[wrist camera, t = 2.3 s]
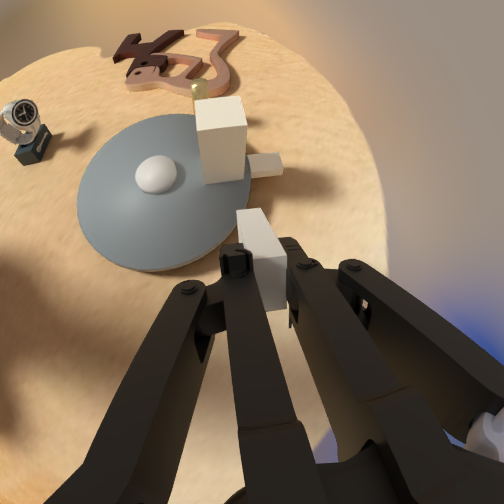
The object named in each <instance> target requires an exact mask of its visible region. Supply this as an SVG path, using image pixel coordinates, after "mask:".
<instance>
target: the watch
mask: <svg viewBox="0 0 504 504" xmlns="http://www.w3.org/2000/svg"><path fill="white" fill-rule="evenodd" d="M3 115H5V116H4V117H5V118H6V119H7V120H9V122H10V123H11V125H10V124H7V123H6V122H5V120H4V117H3ZM40 124H41V123H40V115H39V113H38V109H37V106H36V104H35V103H34V102H33V100H29V99H21V100H15V101H14V102H10V103H8V104H7V105H5V107H4V108H3V110H2V111H1V113H0V134H1V136H2V137H4V138H5V139H6V140H8V141H10V142H11V143H13V144H19V146H18V148H17V151H16V153H15V155H14V156H15V157H16V158H17V159H18V160H19V162H20V163H21V164H22V165H23V166H25V165H29V164H33V163H38V162H40V161H41V159H42V157H43V154H44V152H45V150H46V148H47V145H48V143H49V141H50V139H51V137H52V134H51V133H50V131H49V130H48V128H47V127H46V125H45V124H42V125H40ZM19 130H25V131H26V133H25V134H23V133H21V131H19Z"/></svg>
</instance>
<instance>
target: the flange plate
mask: <svg viewBox="0 0 504 504" xmlns="http://www.w3.org/2000/svg"><path fill="white" fill-rule="evenodd" d="M194 104H195V115H189V114H168V115H161V116H156V117H152V118H148V119H145V120H143V121H140V122H138V123H135V124H133V125H131V126H129V127H127V128H126V129H124V130H122V131H121V132H119V133H118V134H116V135H115V136H114V137H112V138H111V139H110V140H109V141H108V142H107V143H106V144H105V145H104V146H103V147H102V148H101V149H100V150H99V151H98V152H97V153H96V155H95V156H94V157H93V159H92V160H91V162H90V163H89V165H88V167H87V168H86V171H85V173H84V175H83V177H82V180H81V183H80V186H79V191H78V196H77V215H78V219H79V224H80V227H81V229H82V232H83V234H84V236H85V237H86V239H87V240H88V242H89V243H90V244H91V246H92V247H93V248H94V249H95V250H96V251H97V252H99V253H100V254H101V255H102V256H103V257H105V258H106V259H108V260H109V261H111V262H113V263H114V264H116V265H118V266H121V267H124V268H127V269H130V270H135V271H142V272H158V271H166V270H171V269H175V268H179V267H182V266H185V265H187V264H190V263H192V262H194V261H196V260H198V259H200V258H202V257H204V256H205V255H207V254H208V253H210V252H211V251H213V250H214V249H215V248H216V247H217V246H219V245H220V244H221V243H222V242H223V241H224V240H225V239H226V238H227V237H228V236H229V235H230V234H231V232H232V231H233V230H234V228H235V227H236V226H237V213H236V210H243V209H246V206H247V203H248V199H249V194H250V187H251V178H259V177H268V176H278V175H282V174H283V170H284V168H283V164H282V161H281V158H280V155H279V152H272V153H261V154H250V155H247V154H246V139H247V121H246V117H245V114H244V110H243V106H242V102H241V99H240V96H229V97H219V98H210V99H202V100H195V101H194Z"/></svg>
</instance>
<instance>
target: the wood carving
mask: <svg viewBox="0 0 504 504" xmlns="http://www.w3.org/2000/svg"><path fill="white" fill-rule="evenodd" d="M182 36H184V30H169V31H167V32H166V33H164V34H163V35H162V36H160V37H159V38H157V39H156V40H155V41H153V42H150V43H143V44H138V43H139V42H140V41H141V40H142V39H141V34H140V33H138V34H130V35H128V36H127V37H126V38H125V40H124V41H123V42H122V44H121V45H120V47H119V48H118V50H117V51H116V53H115V55H114V57H113V61H114V64H115V63H116V62H118V61H119V60H121V59H126V58H135V59H134V61H133V62H132V64H131V66H130V68H129V70H128V72H127V74H126V77H127V79H126V82H125V84H126V87H127V90H128V91H129V92H139V91H146V90H152V89H164V90H168V91H170V92H171V93H174V94H177V95H181V96H186V97H191V98H192V93H191V85H190V83H191V81H193V80H190V79H191V78H192V77H193V76H194V75H195V74H196V73H197V72H198V71H199V70H200V69H201V67H202V66H203V63H202V58H199V57H194V56H187V55H180V54H172V53H159V52H160V51H161V50H163V49H164V48H165V47H167V46H168V45H170V44H171V43H172V42H174V41H175V40H177V39H178V38H180V37H182ZM196 36H197V37H198V38H203V39H208V40H214V41H219V42H218V43H217V45H216V46H215V47H214V48H213V50H212V51H211V52H210V62H211V64H212V65H213V66H214V68H215V69H216V71H217V77H216V78H214V79H212V80H207V83H208V98H212V97H217V96H220V95H222V94H224V93H225V92H226V91H227V90H228V89H229V87H230V71H229V68H228V66H227V64H226V63H225V62H224V60H223V59H222V58H220V57H219V56H220V55H221V53H222V52H223V51H224V50H225V49H226V48H227V47H228V46H229V45H230V44H232V43H233V42H234V41H235V40H236V39H237V38H238V37H239V31H236V30H215V29H197V30H196ZM171 64H185V65H190V66H189V67H188V68H187V69H186V70H185V71H184V72H183V73H181V74H180V75H178V76H176V77H161V73H162V72H163V71H165V70H166V68H167V65H171Z"/></svg>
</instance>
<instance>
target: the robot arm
mask: <svg viewBox="0 0 504 504" xmlns="http://www.w3.org/2000/svg"><path fill="white" fill-rule="evenodd" d="M236 213H237V225H238V236H239V243H236V244H227V245H223V247H222V248H221V249H220V253H221V254H220V257H219V260H220V267H221V275H222V277H221V278H220V279H219V280H218V281H217V282H216V283H214V284H211V285H209V286H205V284H204V283H203V282H201V281H199V280H186V281H183V282H181V283H179V284H177V285H176V286H175V287H174V288H173V290H172V292H171V293H170V295H169V297H168V298H167V300H166V302H165V304H164V305H163V307H162V309H161V311H160V312H159V314H158V316H157V318H156V319H155V321H154V323H153V325H152V326H151V328H150V330H149V332H148V334H147V335H146V337H145V339H144V341H143V343H142V345H141V346H140V348H139V350H138V352H137V354H136V356H135V357H134V359H133V361H132V363H131V365H130V367H129V369H128V371H127V373H126V375H125V376H124V378H123V380H122V382H121V384H120V386H119V388H118V390H117V392H116V394H115V396H114V398H113V400H112V402H111V404H110V406H109V408H108V410H107V412H106V414H105V416H104V419H103V421H102V423H101V425H100V427H99V429H98V431H97V433H96V435H95V438H94V440H93V442H92V444H91V446H90V449H89V451H88V453H87V455H86V458H85V460H84V462H83V464H82V465H81V466H80V467H79V468H78V469H77V470H76V471H75V472H74V473H73V474H72V475H71V476H70V477H69V478H68V479H67V480H66V481H65V482H64V483H63V484H62V485H61V486H60V487H59V488H58V489H57V490H56V491H55V492H54V493H53V494H52V495H51V496H50V497H49V498H48V499H47V500H46V501H45V502H44V503H43V504H167V503H168V500H169V497H170V494H171V492H172V488H173V484H174V481H175V477H176V473H177V470H178V466H179V462H180V459H181V455H182V452H183V448H184V444H185V441H186V437H187V434H188V430H189V427H190V423H191V419H192V416H193V412H194V409H195V405H196V402H197V398H198V395H199V391H200V388H201V384H202V381H203V378H204V374H205V371H206V367H207V364H208V360H209V357H210V353H211V350H212V347H213V343H214V340H215V334H217V333H219V332H222V331H225V330H227V340H228V349H229V358H230V367H231V376H232V385H233V393H234V401H235V409H236V417H237V424H238V440H239V448H240V455H241V461H242V468H243V475H244V481H245V487H243V488H242V489H240V490H238V491H237V492H236V493H235V494H233V495H232V496H231V497H230V498H229V499H228V500H227V501H226V502H225V503H224V504H504V366H503V365H502V364H501V363H499V362H498V361H497V360H496V359H495V358H493V357H492V356H491V355H490V354H489V353H487V352H486V351H485V350H484V349H482V348H481V347H480V346H479V345H478V344H476V343H475V342H474V341H473V340H471V339H470V338H469V337H467V336H466V335H465V334H464V333H462V332H461V331H460V330H459V329H457V328H456V327H455V326H453V325H452V324H451V323H449V322H448V321H447V320H445V319H444V318H443V317H441V316H440V315H439V314H437V313H436V312H435V311H433V310H432V309H430V308H429V307H428V306H426V305H425V304H424V303H422V302H421V301H420V300H418V299H417V298H415V297H414V296H413V295H411V294H410V293H408V292H407V291H405V290H404V289H403V288H401V287H400V286H398V285H397V284H396V283H394V282H393V281H391V280H390V279H388V278H387V277H385V276H384V275H382V274H381V273H379V272H378V271H376V270H375V269H374V268H372V267H371V266H369V265H368V264H366V263H364V262H362V261H360V260H356V259H348V260H344V261H342V262H340V264H339V269H324V268H323V267H322V265H321V264H320V263H319V262H318V261H317V260H315V259H312V258H308V256H307V255H306V253H305V252H304V251H303V249H302V248H301V246H300V245H299V243H298V242H297V240H295V239H293V238H291V237H284V238H277V236H276V235H275V233H274V231H273V229H272V227H271V226H270V224H269V222H268V220H267V219H266V217H265V215H264V213H263V212H262V210H261V208H253V209H243V210H236ZM363 299H364V300H365V301H367V302H368V306H367V309H366V308H364V307H363V306H362V303H363ZM287 301H288V303H289V328H291V325H292V324H293V326H294V329H295V331H296V334H297V337H298V339H299V342H300V344H301V347H302V350H303V352H304V355H305V358H306V360H307V363H308V366H309V368H310V371H311V373H312V376H313V379H314V381H315V384H316V387H317V389H318V392H319V395H320V397H321V400H322V403H323V405H324V408H325V411H326V414H327V416H328V419H329V422H330V424H331V427H332V430H333V433H334V435H335V438H336V441H337V446H338V460H339V462H338V463H324V464H316V463H315V460H314V457H313V453H312V450H311V447H310V443H309V440H308V437H307V434H306V431H305V428H304V426H303V424H302V422H301V421H299V420H298V419H297V417H296V415H295V411H294V408H293V405H292V401H291V398H290V394H289V391H288V388H287V384H286V381H285V377H284V374H283V371H282V367H281V364H280V360H279V357H278V353H277V350H276V347H275V343H274V340H273V336H272V333H271V329H270V326H269V322H268V319H267V316H266V312H268V311H275V310H281V309H287ZM443 429H444V430H445V431H446V432H447V433H449V434H450V435H452V436H453V437H454V438H456V439H457V440H459V441H461V442H463V443H465V446H464V447H463V448H461V447H458V446H456V445H454V444H451V442H450V440H449V439H448V437H447V435H446V434H445V432H444V430H443Z"/></svg>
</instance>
